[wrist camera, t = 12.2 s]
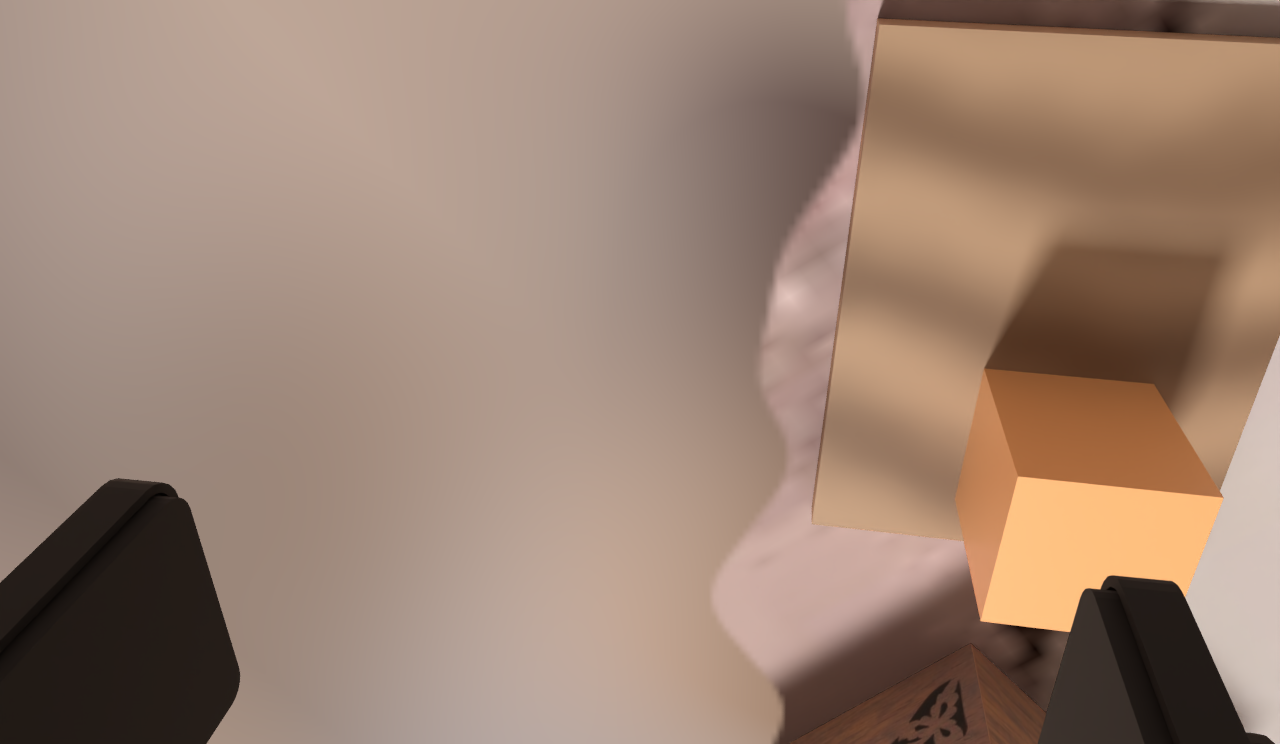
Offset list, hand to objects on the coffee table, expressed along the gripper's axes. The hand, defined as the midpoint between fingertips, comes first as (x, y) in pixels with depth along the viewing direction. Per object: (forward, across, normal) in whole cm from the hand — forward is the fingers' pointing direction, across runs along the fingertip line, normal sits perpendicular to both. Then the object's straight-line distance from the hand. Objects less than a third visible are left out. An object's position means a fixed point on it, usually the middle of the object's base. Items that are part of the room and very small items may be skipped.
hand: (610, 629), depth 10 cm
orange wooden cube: (+26, -12, +14) cm, 31 cm away
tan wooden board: (+27, -11, +9) cm, 30 cm away
